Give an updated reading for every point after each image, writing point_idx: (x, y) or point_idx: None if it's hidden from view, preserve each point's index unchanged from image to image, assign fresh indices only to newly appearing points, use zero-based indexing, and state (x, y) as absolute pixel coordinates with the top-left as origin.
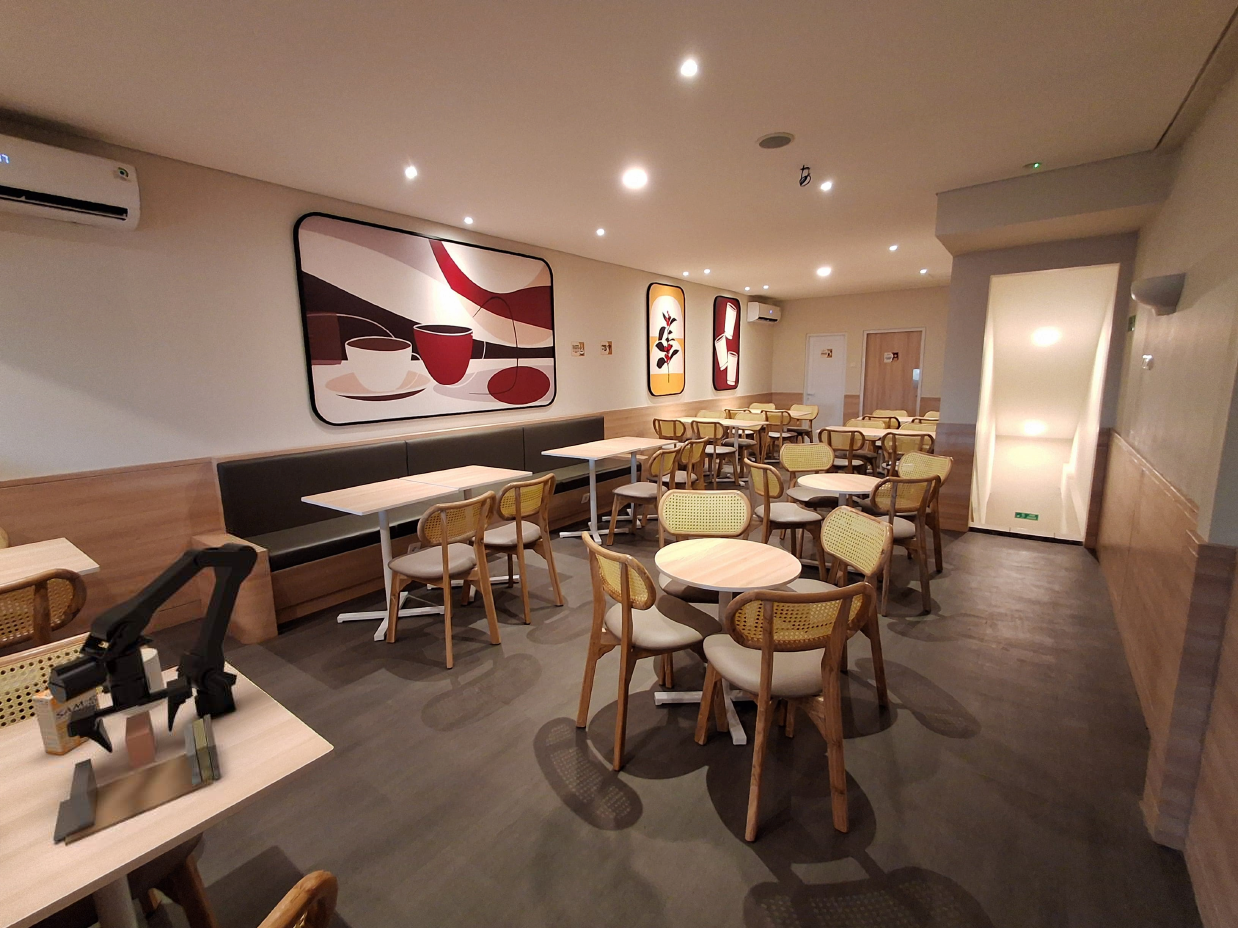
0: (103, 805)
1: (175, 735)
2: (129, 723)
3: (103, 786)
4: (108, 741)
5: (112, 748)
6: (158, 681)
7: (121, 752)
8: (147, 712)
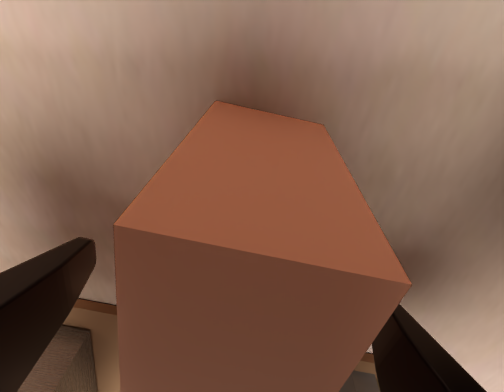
0: (112, 383)
1: (396, 192)
2: (152, 374)
3: (102, 317)
4: (28, 346)
5: (88, 247)
6: None
7: (159, 112)
8: (364, 323)
